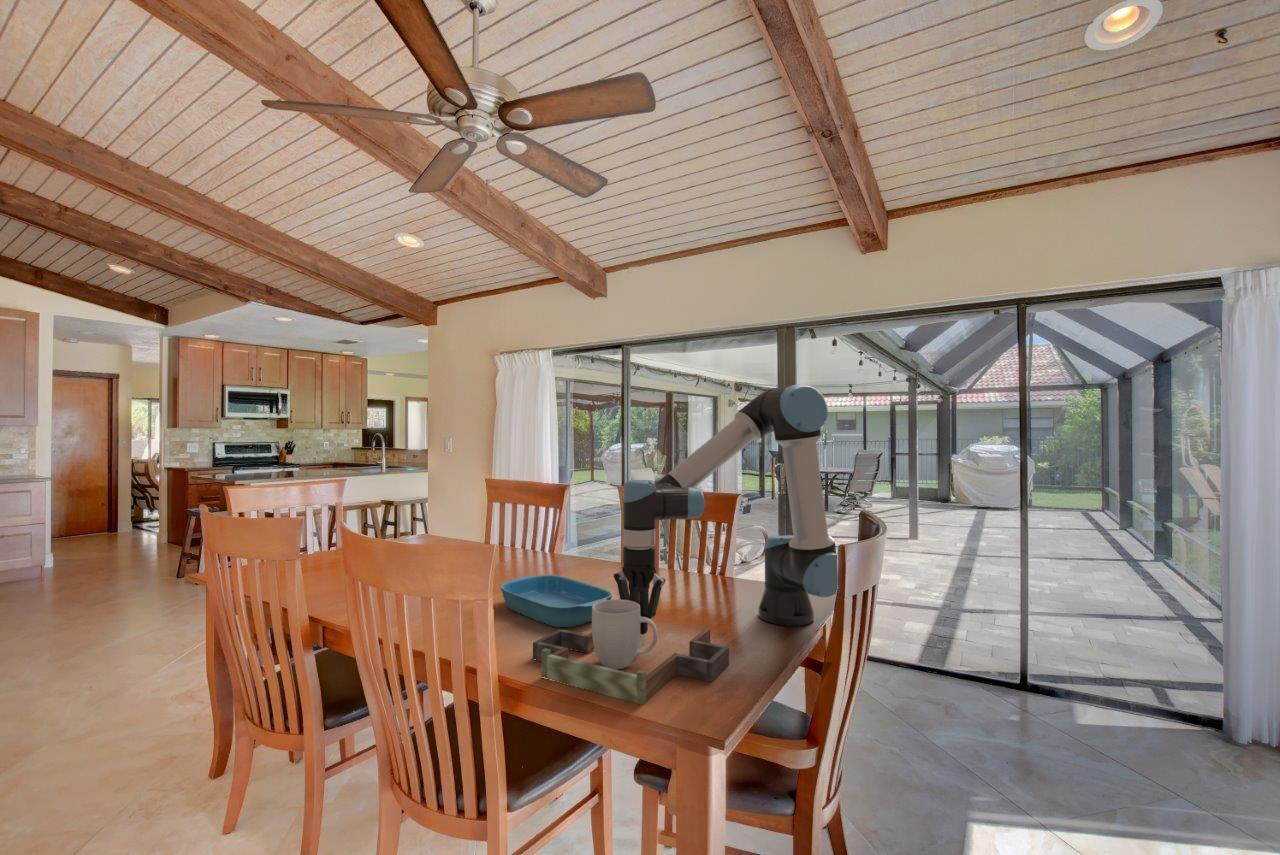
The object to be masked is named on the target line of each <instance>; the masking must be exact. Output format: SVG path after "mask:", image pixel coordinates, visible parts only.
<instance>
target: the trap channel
mask: <svg viewBox="0 0 1280 855" xmlns="http://www.w3.org/2000/svg"><path fill="white" fill-rule="evenodd" d="M688 643H689V644H688V645H689V646H688V649H689V654H688V655H686V654H681V653H677V652H673V654H671V655H670V656H669V657H668V658H666V659H665V660H664V661H663V662H662V663H660V664H659V665H658V666H656V667H655V668H653V669H652V670H651V671H650V672H649V673H647V671H646V670H642V669H639V670H638V671H637V672H636V673H632V672H628V671H623V670H621V669H611V668H607V667H604V666H603V665H597V664H593V663H590V662H585V661H582V660H577V659H572V658H569V656H570V655H569V651H570V650H569V649H572V650H571V651H573V650H578V651H582V652H586V653H589V654H591V653H592V652H591V651H593V650H594V649H595V648H594V644H593V636H592V631H591V632H589V633H588V634H586V633H581V632H576V631H571V630H567V629H566V630H565V629H563V628H558V629H557V630H555V631H553V632H552V633H551V632H550V633H549V634H547V635H545V636H543V637H542V638H540V639H537V640H535V641H534V642H532V660H533V659H536V660H540V661H541V662H540V664H541V665H540V666H541V667H540V668H541V669H540V670H541V671H540V672H541V673H540V676H541V677H545V678H548V679H552V680H555V681H559V682H562V683H565V684H568V685H567V686H569V685H572V686H571V687H573V686H575V687H574V688H577V687H579V688H578V689H580V688H583V689H582V690H584V689H586V691H588V690H590V691H589V692H592V691H593V693H596V692H597V693H596V694H600V693H601V694H600V695H603V694H604V696H607V697H612V698H616V699H620V700H623V701H627V702H632V703H635V704H637V705H641V706H643V705H645V704H646V703H647V702H648V701H649V700H650V699H651V698H652V697H653V696H654V695H655V694H657V693H658V692H659V691H660V690H661V689H663V687H664V686H666V685H667V684H668V683H669V682H670V681H672V679H674V678H675V677H676V676H677V675H679V676H683V677H688V678H692V679H696V680H702V681H705V682H708V683H709V682H710V683H712V682H714V681H715V680H716V678H718V677H719V675H720V674H722V672H724V671H725V669H726V668H727V667H728V666H729V665H730V647H729V646H727V645H721V644H716V643H711V629H710V628H704V629H702V630H701V631H700V632H699V633H698V634H697V635H695V636H694V637H693V638H692V639H691V640H689V642H688ZM594 651H595V650H594ZM594 651H593V652H594ZM582 652H581V653H582ZM590 652H591V653H590ZM586 653H585V654H586ZM565 684H564V685H565Z"/></svg>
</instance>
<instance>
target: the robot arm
mask: <svg viewBox="0 0 1280 855" xmlns="http://www.w3.org/2000/svg"><path fill="white" fill-rule="evenodd" d="M828 408H829V407H828V405H827V402H826V399H825V397H824V395H823V394H822V393H821V392H820V391H818V390H817V389H816V388H815V387H812V386H809V385H800V384H793V385H788V386H782V387H773V388H769V389H767V390H765V391H763V392H761V393H760V394H758V395H757V396H756V397H754V398H753V399H752V400H751V401H749V402H748V403H747V404H745V405H744V406H743V407H742V408H740V410H738V411H737V412H736V413H735V415H734V419H733V420H732V421H730V423H728V424H727V425H726V426H725V427H723V428H722V429H721V430H719V431H718V432H717V433H716V434H714V435H713V436H712V437H711V438H709V439H708V440H707V441H705V443H703V445H701V446H700V447H699V448H697V449H696V450H694V451H693V453H691V454H690V455H689V456H687V457H686V458H685V459H684V460H683V461H681V462H680V463H679V464H677V466H675V467H674V468H673V469H671V471H669V472H668V473H667V474H665V475H664V476H662V477H661V478H660V479H659V480H656V481H654V480H651V479H631V480H628V481H626V482H625V483H624V487H623V498H622V502H623V504H622V505H623V510H622V511H623V532H622V533H623V534H622V535H623V539H622V540H623V541H622V544H623V545H624V547H623V548H622V549H623V553H622V554H623V555H622V556H623V557H622V559H623V566H622V570H620V571H619V572H616V573H614V574H613V579H614V580H615V582H616V585H617V590H618V595H619V599H620V600H629V601H633V602H636V603H638V604H639V605H640V616H641V617H647V618H649V619H651V620H652V618H654V617H655V616H656V613H657V609H658V605H659V600H660V596H661V591H662V587H664V585H665V584H666V578H665V577H661V576H659V575H658V573H657V570H656V567H655V565H656V547H655V545H656V522H657V521H663V520H669V521H670V520H690V519H698V518H701V516H702V515H703V513H704V510H705V505H706V504H705V496H704V493H703V491H702V490H701V489H700V488H699V487H698V486H699V485H701V484H702V482H704V481H705V480H707V479H708V478H709V477H710V476H711V475H713V473H715V472H716V471H717V470H718V469H719V468H721V467H722V466H723V465H725V464H726V463H727V462H728V461H729V460H731V459H732V458H733V457H734V456H735V455H737V454H738V453H739V452H741V450H744V448H745V447H747V446H748V445H749V444H750V443H751V442H752V441H753V442H754V441H756V442H758V441H760V440H761V439H762V438H763V437H764V436H766V435H769V434H770V433H773V434H774V435H773V436H774V440H775V442H776V443H777V444H779V445H780V446H781V448H782V456H783V462H784V463H783V464H784V471H785V479H786V484H787V485H786V487H787V496H788V501H789V503H788V504H789V511H790V518H791V526H792V527H791V528H792V534H793V535H792V534H791V535H789V534H787V535H785V534H784V535H773V536H768V537H766V539H765V541H764V542H765V543H764V590H763V594H762V596H761V600H760V602H759V605H758V617H759V619H761V620H762V619H763V620H762V621H764V620H765V621H764V622H766V621H767V622H766V623H769V622H770V624H772V623H774V624H773V625H777V624H779V625H780V626H784V625H786V627H799V626H800V625H801V626H806V625H809V624H811V622H812V621H813V620H815V619H814V618H815V614H814V613H815V612H814V608H813V605H812V602H811V599H810V596H809V595H811V596H816V597H819V598H830V597H832V596H834V595H836V594H837V593H836V590H837V554H838V553H837V547H836V540H835V539H834V538H833V537H832V536H831V535H830V534H829V532H828V525H827V517H826V510H825V509H826V508H825V502H824V494H823V493H824V492H823V485H822V477H821V468H820V461H819V453H818V447H817V446H818V444H817V442H818V441H819V440H820V438H821V437H822V436H823V435H822V427H823V426H824V425H825V421H827V419H828V414H829V413H828V411H829V410H828ZM651 583H652V585H653V586H652V588H651V593H650V584H651ZM649 593H650V595H649ZM813 622H814V621H813ZM813 622H812V623H813ZM640 625H641V626H640V638H639V645H638V649H637V650H641V648H643V647H644V646H645V634H647V633H648V628H649V626H648V625H649V624H648V623H646V622H643V623H640ZM779 625H778V626H779Z"/></svg>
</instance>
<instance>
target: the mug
mask: <svg viewBox="0 0 1280 855" xmlns="http://www.w3.org/2000/svg"><path fill="white" fill-rule="evenodd" d="M643 622H646V623H648V625H649V626H650V627H651V629H652V632H653V637H652V642H651V643H650V645H649V646H648V647H646V648H644V649H638V645H639V638H640V626H641V625H640V623H643ZM591 632H592V636H593V644H594V648H595V650H594V652H595V655H596V657H597V659H598V661H599V663H600V665H601V666H603V667H607V668H611V669H616V670H622V669H623V670H624V669H625V668H628V667H629V666H630V665H632V663H633V661H634V659H635V658H636V656H641V655H645V654H648V653H650V652H651V651H653V649H654V648H655V646H656V644H657V643H658V642H657V641H658V635H659V634H658V629H657V626H656V624H655V622H654V621H653V620H652V618H651V619H649V618H647V617H641V616H640V605H639V604H638V603H636V602H633V601H629V600H620V598H619V599H617V598H615V599H611V600H604V601H600V602H597V603H595V604H594V605H593V606H592V621H591Z"/></svg>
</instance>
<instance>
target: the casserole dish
mask: <svg viewBox="0 0 1280 855" xmlns="http://www.w3.org/2000/svg"><path fill="white" fill-rule="evenodd" d="M500 590H501V594H502V596H503V600H504V603H505V604H506V606H507V607H508V608H510V609H511V610H512V611H514V612H516V613H518V614H520V613H521V614H520V615H522V614H523V616H525V615H526V616H525V617H527V616H528V617H527V618H529V619H530V618H531V619H532V618H533V619H532V620H534V619H535V620H534V621H537V620H538V621H537V622H539V621H540V623H542V622H543V623H542V624H544V623H545V625H547V624H548V625H547V626H550V625H551V626H550V627H553V626H555V627H554V628H557V627H570V628H573V627H572V626H574V627H577V626H576V625H578V626H581V625H584V624H586V622H587V623H590V622H589V621H591V622H592V606H593V605H594V604H595V603H597V602H600V601H604V600H612V597H613V593H612V592H611V591H610V590H608V589H606V588H605V589H604V588H602V587H598V586H596V585H593V584H590V583H586V582H583V581H580V580H577V579H573V578H569V577H566V576H562V575H556V574H541V575H530V576H529V575H527V576H521V577H516V578H513V579H510V580H509V581H507V582H506V581H505V582H504V583H502V584H501V585H500ZM583 623H584V624H583ZM580 624H581V625H580Z"/></svg>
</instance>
